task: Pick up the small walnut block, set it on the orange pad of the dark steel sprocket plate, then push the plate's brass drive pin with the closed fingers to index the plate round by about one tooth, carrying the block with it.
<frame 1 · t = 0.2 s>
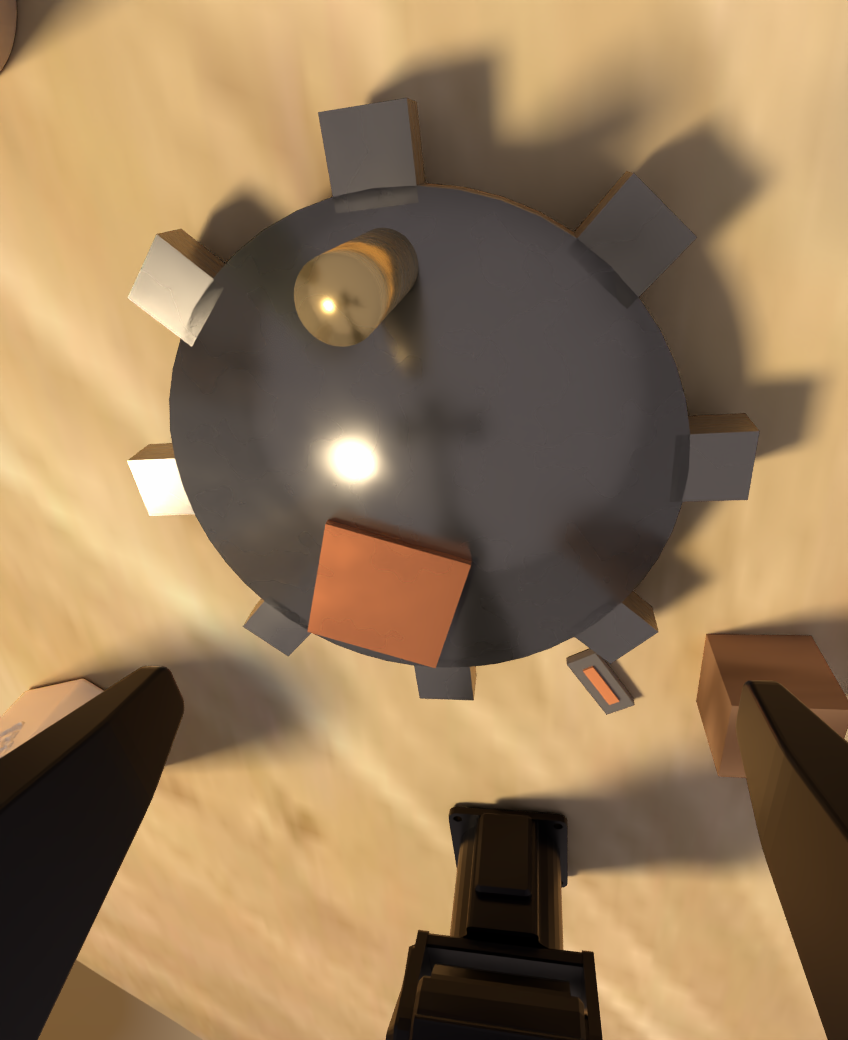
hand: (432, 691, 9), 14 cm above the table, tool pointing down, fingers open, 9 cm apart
sprocket: (406, 503, 20), point 4 cm above the table, hinge at 0.0°
link block: (750, 668, 26), on the table
jar: (98, 726, 36), on the table
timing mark: (600, 678, 28), on the table
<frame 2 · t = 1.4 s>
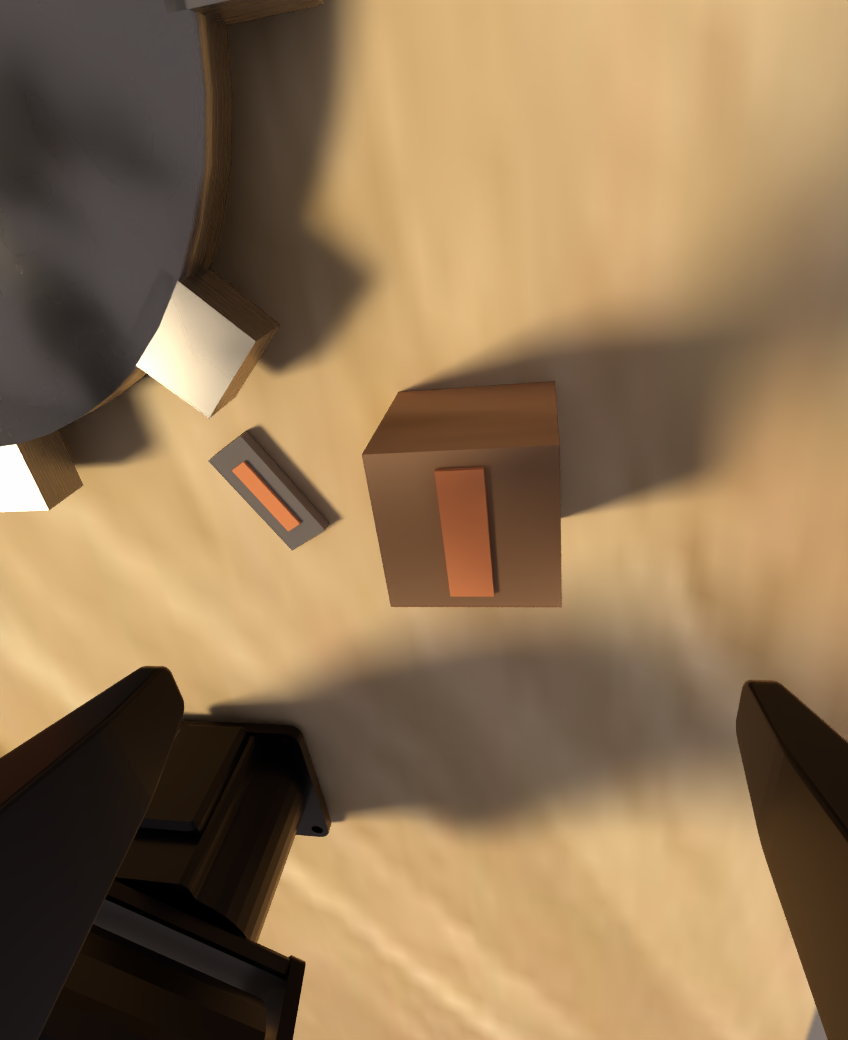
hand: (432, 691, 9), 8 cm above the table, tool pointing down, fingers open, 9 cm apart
link block: (480, 456, 17), on the table
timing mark: (272, 489, 18), on the table
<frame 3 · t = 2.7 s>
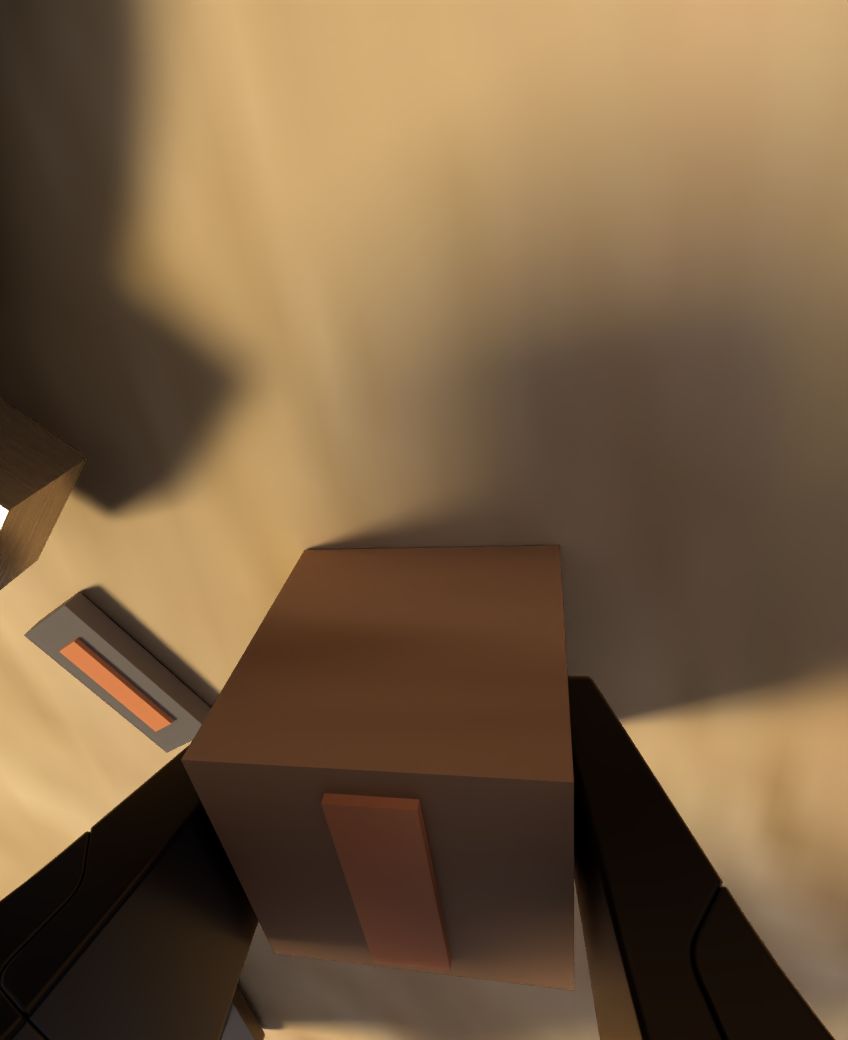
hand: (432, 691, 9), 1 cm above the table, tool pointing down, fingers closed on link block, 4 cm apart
link block: (440, 645, 10), on the table, touching gripper
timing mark: (131, 669, 12), on the table
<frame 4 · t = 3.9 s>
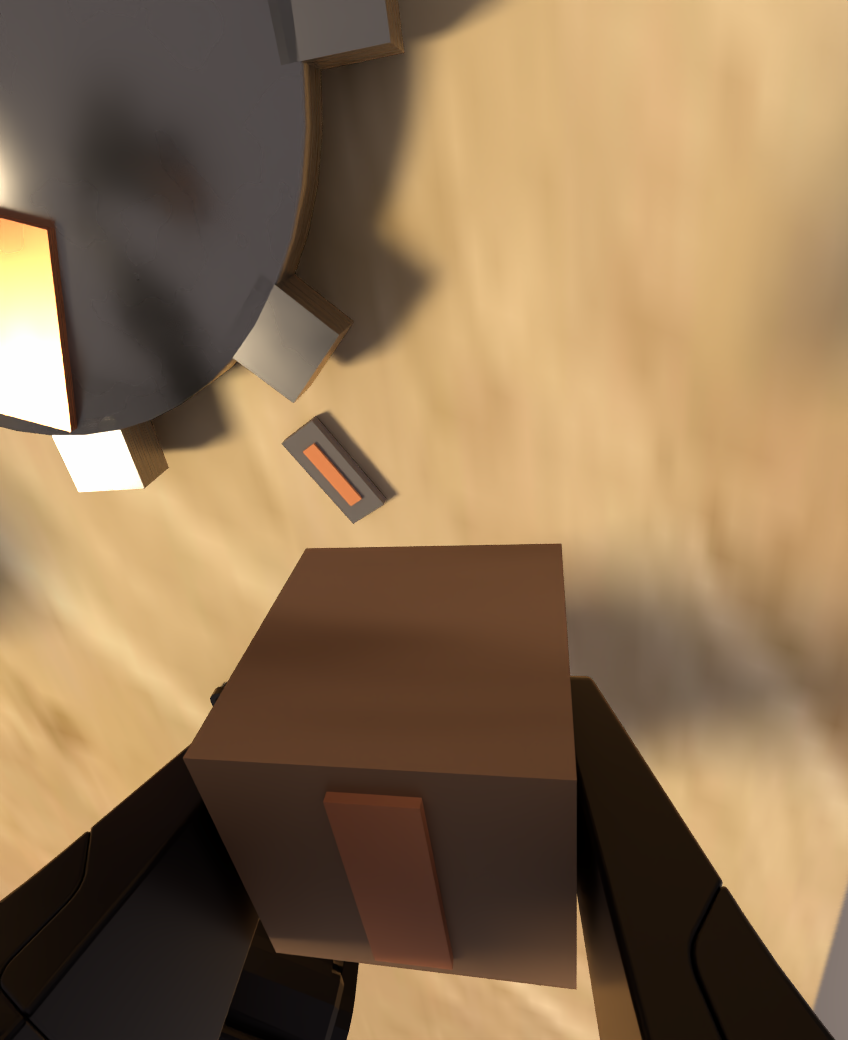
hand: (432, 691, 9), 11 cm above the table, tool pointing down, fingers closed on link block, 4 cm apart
link block: (442, 644, 10), point 10 cm above the table, touching gripper
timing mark: (336, 469, 20), on the table
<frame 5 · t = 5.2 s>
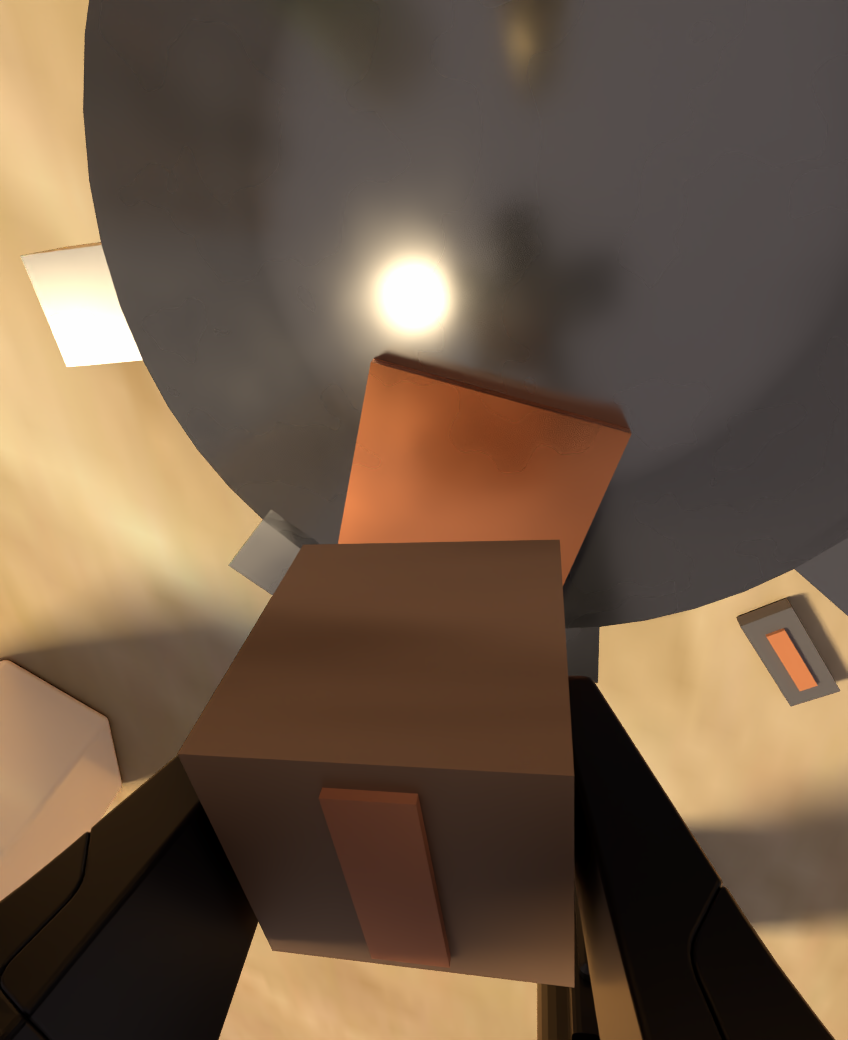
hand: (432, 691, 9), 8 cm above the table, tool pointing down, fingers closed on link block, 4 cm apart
sprocket: (543, 274, 10), point 4 cm above the table, hinge at 0.0°
link block: (440, 641, 10), point 7 cm above the table, touching gripper
jar: (35, 727, 26), on the table
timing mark: (786, 649, 18), on the table
when the fingers open (5 cm above the table, at t = 6.0 s): link block drops 1 cm, resting on sprocket.
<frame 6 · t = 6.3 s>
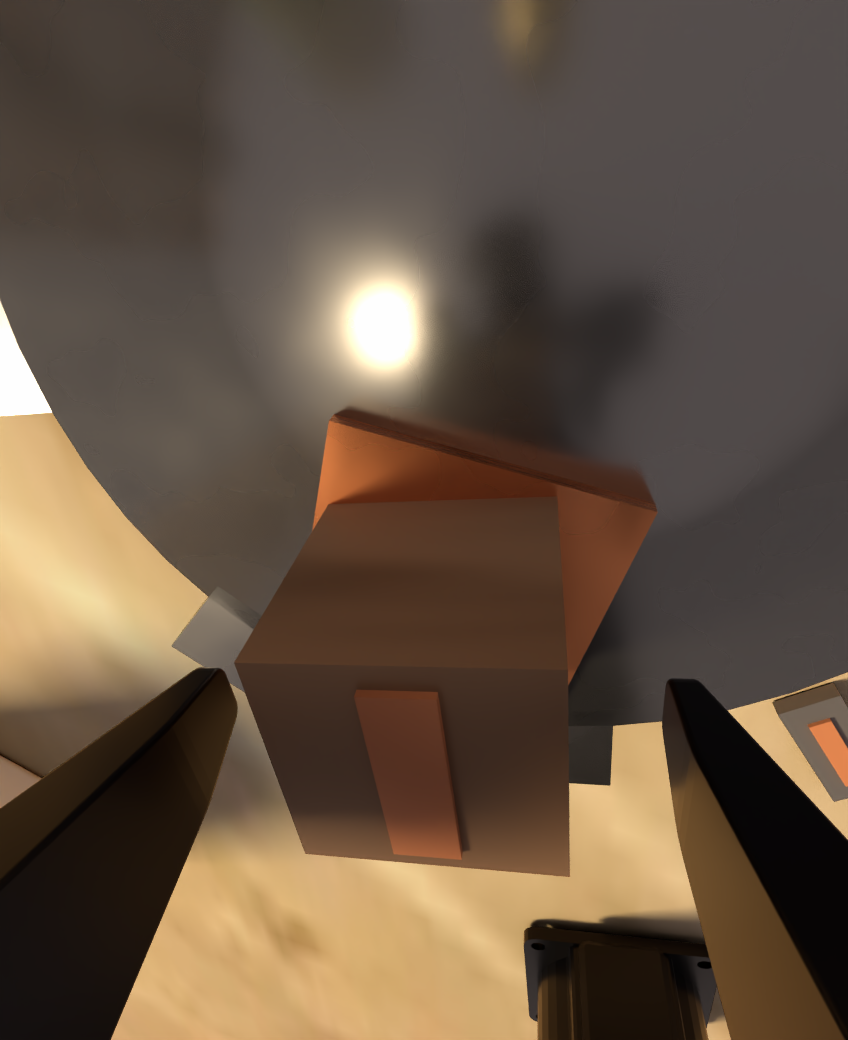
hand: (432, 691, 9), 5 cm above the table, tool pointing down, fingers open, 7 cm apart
sprocket: (548, 324, 7), point 4 cm above the table, hinge at 0.0°, touching link block
link block: (450, 593, 11), point 3 cm above the table, touching sprocket
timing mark: (830, 738, 15), on the table
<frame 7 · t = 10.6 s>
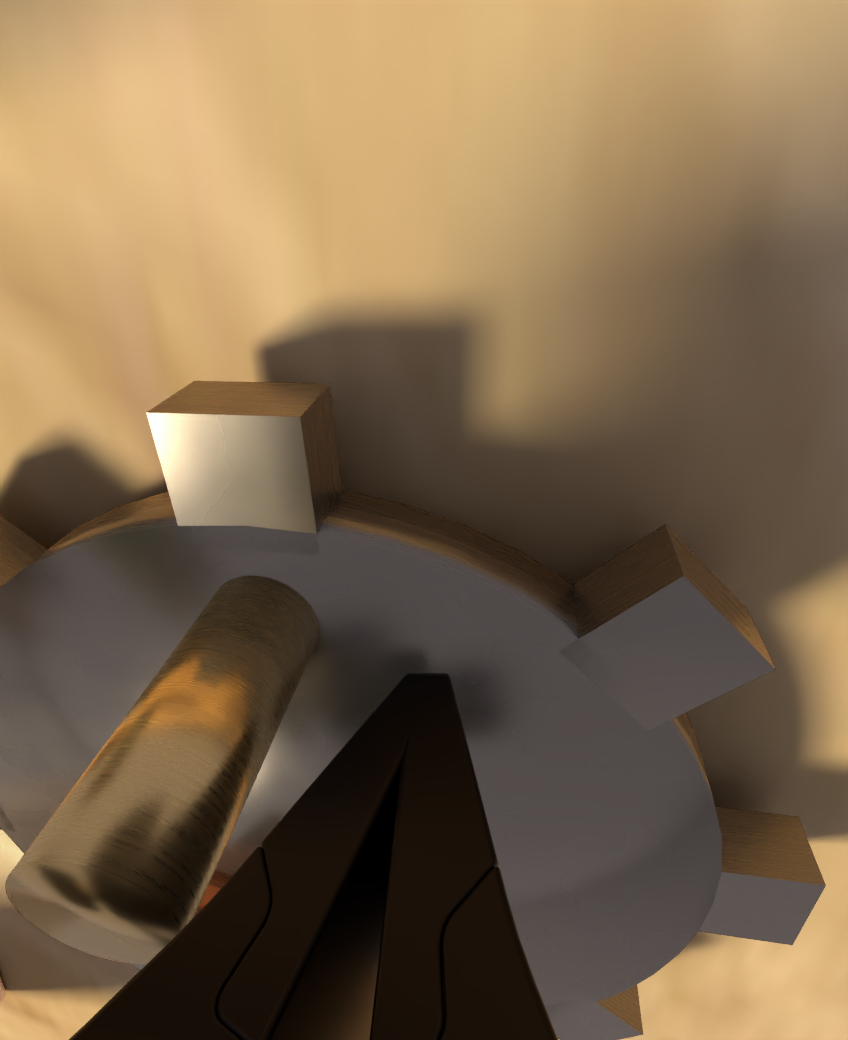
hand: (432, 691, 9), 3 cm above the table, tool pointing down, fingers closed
sprocket: (288, 927, 13), point 4 cm above the table, hinge at 0.1°, touching gripper, link block
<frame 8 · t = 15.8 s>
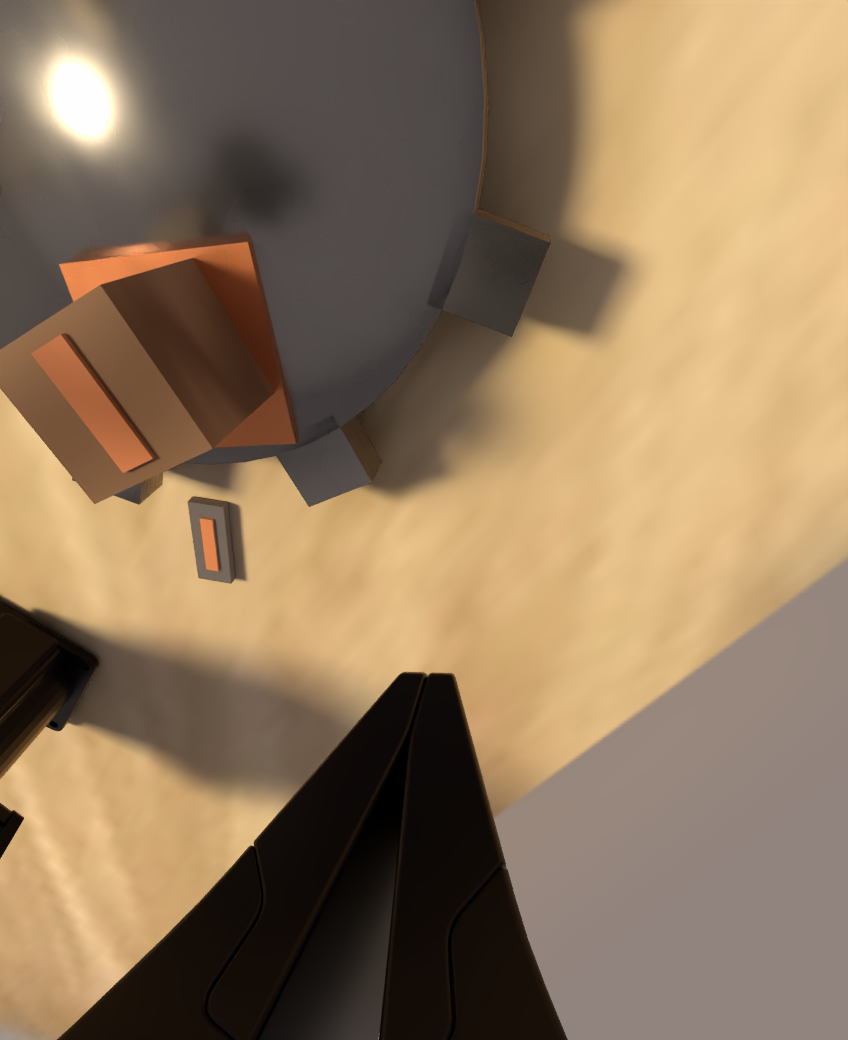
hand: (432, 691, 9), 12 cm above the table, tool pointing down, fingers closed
sprocket: (73, 131, 13), point 4 cm above the table, hinge at 61.5°, touching link block
link block: (182, 357, 17), point 3 cm above the table, touching sprocket
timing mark: (214, 538, 24), on the table
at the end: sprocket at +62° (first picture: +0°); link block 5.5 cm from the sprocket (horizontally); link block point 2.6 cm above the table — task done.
